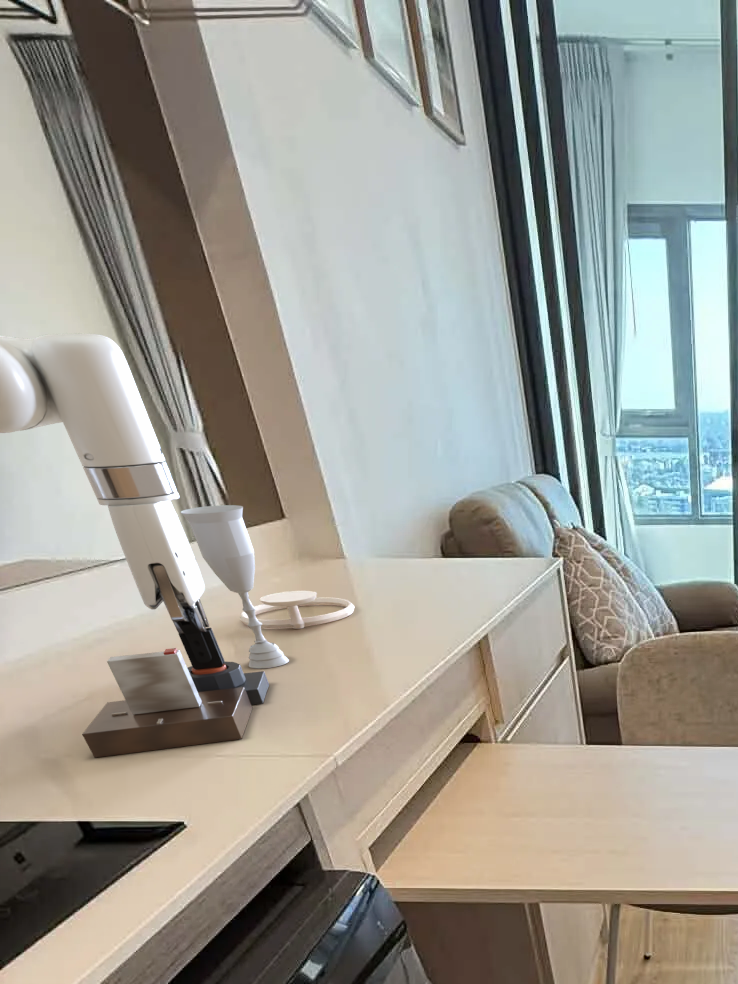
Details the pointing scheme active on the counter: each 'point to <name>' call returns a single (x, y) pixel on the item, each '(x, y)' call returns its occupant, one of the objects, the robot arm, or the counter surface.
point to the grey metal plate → (155, 681)
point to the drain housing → (233, 681)
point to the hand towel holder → (292, 602)
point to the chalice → (233, 567)
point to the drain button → (209, 670)
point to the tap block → (169, 724)
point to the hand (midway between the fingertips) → (209, 666)
